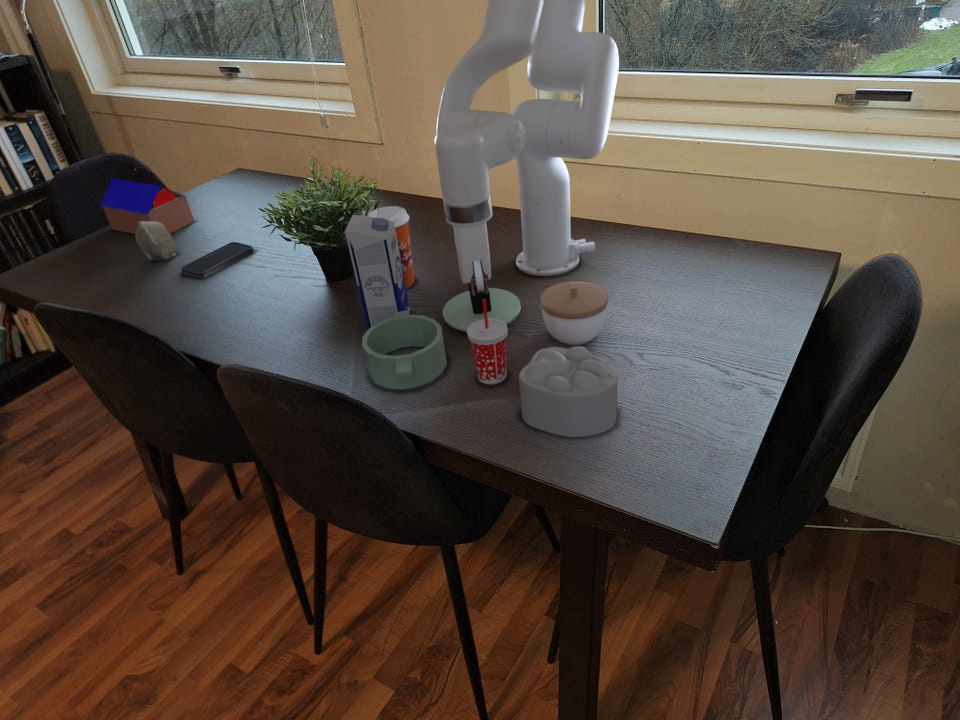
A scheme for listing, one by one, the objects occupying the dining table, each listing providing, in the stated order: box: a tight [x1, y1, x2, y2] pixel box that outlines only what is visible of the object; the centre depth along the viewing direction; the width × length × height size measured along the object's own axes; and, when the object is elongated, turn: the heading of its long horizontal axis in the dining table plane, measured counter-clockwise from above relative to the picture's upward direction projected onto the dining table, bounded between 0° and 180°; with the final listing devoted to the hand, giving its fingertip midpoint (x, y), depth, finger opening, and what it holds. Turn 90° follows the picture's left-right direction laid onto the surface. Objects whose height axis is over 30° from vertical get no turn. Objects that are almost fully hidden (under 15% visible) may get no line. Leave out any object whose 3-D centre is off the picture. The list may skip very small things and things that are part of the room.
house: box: [99, 178, 196, 235], centre depth 169 cm, size 12×20×12 cm, turn 59°
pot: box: [361, 310, 448, 390], centre depth 105 cm, size 13×18×6 cm
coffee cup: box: [367, 205, 415, 288], centre depth 127 cm, size 8×8×15 cm
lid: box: [442, 281, 522, 333], centre depth 113 cm, size 14×14×6 cm
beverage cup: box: [466, 299, 509, 385], centre depth 98 cm, size 6×6×14 cm
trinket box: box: [540, 280, 609, 346], centre depth 107 cm, size 11×11×9 cm
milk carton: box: [344, 214, 411, 330], centre depth 113 cm, size 7×7×20 cm
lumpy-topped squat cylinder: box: [518, 345, 618, 438], centre depth 91 cm, size 10×13×9 cm
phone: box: [180, 241, 254, 279], centre depth 148 cm, size 8×1×15 cm
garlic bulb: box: [134, 221, 177, 262], centre depth 152 cm, size 9×8×10 cm
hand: (481, 306), depth 114 cm, fingers closed on lid, 2 cm apart
